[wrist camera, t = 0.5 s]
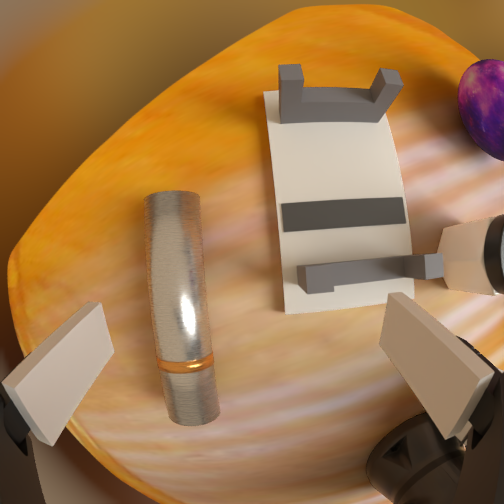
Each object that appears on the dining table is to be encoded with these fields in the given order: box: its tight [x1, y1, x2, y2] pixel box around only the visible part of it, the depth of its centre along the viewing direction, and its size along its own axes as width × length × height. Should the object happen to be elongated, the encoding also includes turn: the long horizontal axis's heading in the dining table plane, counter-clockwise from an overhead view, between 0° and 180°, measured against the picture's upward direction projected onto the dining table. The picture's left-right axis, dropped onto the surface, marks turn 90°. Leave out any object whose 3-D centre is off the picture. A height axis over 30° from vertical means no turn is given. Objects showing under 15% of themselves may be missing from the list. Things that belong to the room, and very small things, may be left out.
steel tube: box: [144, 191, 220, 426], centre depth 27 cm, size 24×6×6 cm, turn 5°
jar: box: [437, 214, 504, 296], centre depth 22 cm, size 9×8×12 cm
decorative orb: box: [458, 59, 504, 161], centre depth 20 cm, size 15×15×15 cm
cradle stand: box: [263, 64, 444, 315], centre depth 24 cm, size 26×15×10 cm, turn 5°
